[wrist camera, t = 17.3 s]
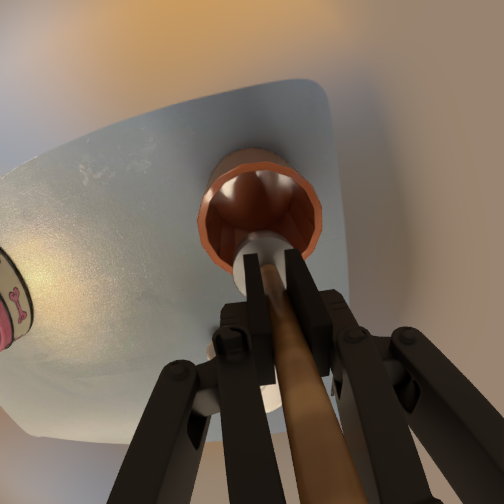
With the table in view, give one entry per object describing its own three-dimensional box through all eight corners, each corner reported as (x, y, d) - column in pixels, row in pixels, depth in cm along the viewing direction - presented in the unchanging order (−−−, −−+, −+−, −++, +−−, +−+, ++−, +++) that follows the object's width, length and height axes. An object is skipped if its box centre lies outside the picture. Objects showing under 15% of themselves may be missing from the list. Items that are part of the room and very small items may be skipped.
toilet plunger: (229, 233, 23) (189, 519, 3) (292, 226, 24) (496, 443, 3) (237, 293, 25) (237, 583, 4) (296, 286, 25) (420, 545, 4)
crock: (202, 153, 30) (188, 171, 21) (293, 144, 30) (320, 157, 21) (214, 237, 34) (208, 286, 25) (298, 228, 34) (322, 272, 25)
